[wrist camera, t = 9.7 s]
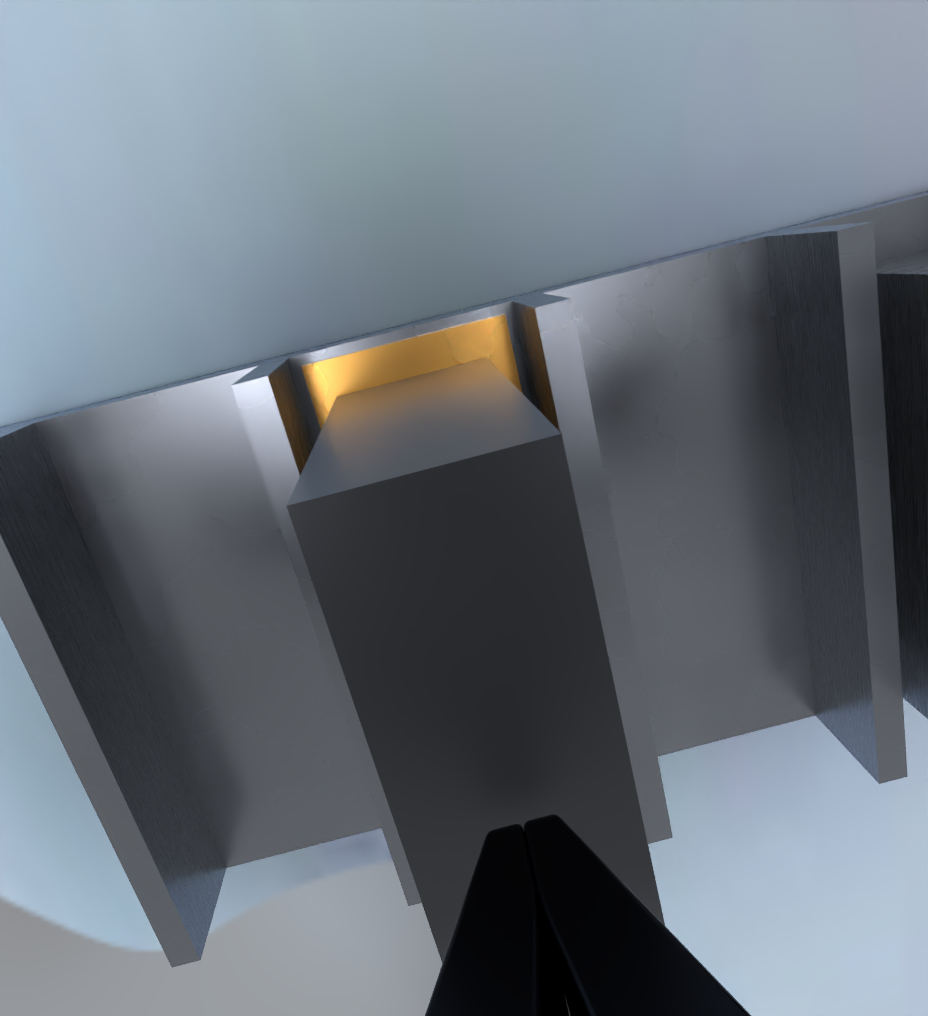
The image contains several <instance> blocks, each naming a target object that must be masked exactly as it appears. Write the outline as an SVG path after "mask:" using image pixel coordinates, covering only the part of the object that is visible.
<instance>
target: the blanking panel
mask: <svg viewBox="0 0 928 1016" xmlns="http://www.w3.org/2000/svg"><path fill="white" fill-rule="evenodd" d="M287 509H288V512H289V515H290V518H291V521H292V524H293V527H294V530H295V533H296V536H297V539H298V542H299V544H300V547H301V550H302V553H303V556H304V559H305V562H306V565H307V568H308V571H309V574H310V577H311V580H312V582H313V585H314V588H315V591H316V594H317V597H318V600H319V603H320V606H321V609H322V612H323V615H324V618H325V621H326V623H327V626H328V629H329V632H330V635H331V638H332V641H333V644H334V647H335V650H336V653H337V656H338V659H339V662H340V664H341V667H342V670H343V673H344V676H345V679H346V682H347V685H348V688H349V691H350V694H351V697H352V700H353V703H354V705H355V708H356V711H357V714H358V717H359V720H360V723H361V726H362V729H363V732H364V735H365V738H366V741H367V743H368V746H369V749H370V752H371V755H372V758H373V761H374V764H375V767H376V770H377V773H378V776H379V779H380V782H381V784H382V787H383V790H384V793H385V796H386V799H387V802H388V805H389V808H390V811H391V814H392V817H393V820H394V823H395V825H396V828H397V831H398V834H399V837H400V840H401V843H402V846H403V849H404V852H405V855H406V858H407V861H408V864H409V866H410V869H411V872H412V875H413V878H414V881H415V884H416V887H417V890H418V893H419V896H420V899H421V902H422V904H423V907H424V910H425V913H426V916H427V919H428V922H429V925H430V928H431V931H432V934H433V937H434V939H435V942H436V945H437V948H438V951H439V954H440V957H441V960H442V963H443V961H444V958H445V955H446V952H447V949H448V946H449V944H450V941H451V938H452V935H453V932H454V929H455V926H456V923H457V920H458V917H459V914H460V911H461V908H462V905H463V902H464V899H465V896H466V893H467V890H468V887H469V884H470V881H471V879H472V876H473V873H474V870H475V867H476V864H477V861H478V858H479V855H480V852H481V849H482V846H483V843H484V840H485V838H486V835H487V833H488V832H489V831H491V830H494V829H498V828H501V827H505V826H509V825H513V824H520V825H521V826H522V827H523V829H524V824H525V823H526V822H527V821H529V820H532V819H536V818H540V817H544V816H548V815H552V814H555V815H558V816H559V817H560V818H562V819H563V820H564V821H565V823H566V824H567V825H568V826H569V827H570V828H571V829H572V830H573V831H574V832H575V833H576V834H577V835H578V836H579V837H580V838H581V839H582V840H583V841H584V842H585V843H586V844H587V845H588V846H589V847H590V849H591V850H592V851H593V852H594V853H595V854H596V855H597V856H598V857H599V858H600V859H601V860H602V861H603V862H604V863H605V864H606V865H607V866H608V867H609V868H610V869H611V870H612V871H613V872H614V873H615V875H616V876H617V877H618V878H619V879H620V880H621V881H622V882H623V883H624V884H625V885H626V886H627V887H628V888H629V889H630V890H631V891H632V892H633V893H634V894H635V895H636V896H637V897H638V898H639V899H640V901H641V902H642V903H643V904H644V905H645V906H646V907H647V908H648V909H649V910H650V911H651V912H652V913H653V914H654V915H655V916H656V917H657V918H658V919H659V920H660V921H661V922H662V923H663V924H664V919H663V914H662V909H661V905H660V900H659V895H658V890H657V885H656V881H655V876H654V871H653V866H652V862H651V857H650V852H649V847H648V843H647V838H646V833H645V828H644V824H643V819H642V814H641V809H640V805H639V800H638V795H637V790H636V785H635V781H634V776H633V771H632V766H631V762H630V757H629V752H628V747H627V743H626V738H625V733H624V728H623V724H622V719H621V714H620V709H619V704H618V700H617V695H616V690H615V685H614V681H613V676H612V671H611V666H610V662H609V657H608V652H607V647H606V643H605V638H604V633H603V628H602V623H601V619H600V614H599V609H598V604H597V600H596V595H595V590H594V585H593V581H592V576H591V571H590V566H589V562H588V557H587V552H586V547H585V543H584V538H583V533H582V528H581V523H580V519H579V514H578V509H577V504H576V500H575V495H574V490H573V485H572V481H571V476H570V471H569V466H568V462H567V457H566V452H565V447H564V442H563V438H562V434H561V433H560V431H559V430H558V429H557V428H556V427H555V426H554V425H553V424H552V423H551V422H550V421H549V420H548V419H547V418H546V417H545V416H544V415H543V414H542V413H541V412H540V411H539V410H538V409H537V408H536V407H535V406H534V405H533V404H532V403H531V402H530V401H529V400H528V399H527V398H526V397H525V396H524V395H523V394H522V393H521V392H520V391H519V389H518V388H517V387H516V386H515V385H514V384H513V383H512V382H511V381H510V380H509V379H508V378H507V377H506V376H505V375H504V374H503V373H502V372H501V371H500V370H499V369H498V368H497V367H496V366H495V365H494V364H493V363H492V362H491V361H490V360H489V359H488V358H487V357H486V358H482V359H478V360H474V361H471V362H467V363H463V364H459V365H455V366H451V367H448V368H444V369H440V370H436V371H432V372H429V373H425V374H421V375H417V376H413V377H410V378H406V379H402V380H398V381H394V382H390V383H387V384H383V385H379V386H375V387H371V388H368V389H364V390H360V391H356V392H352V393H348V394H345V395H341V396H337V397H336V399H335V401H334V404H333V406H332V408H331V410H330V412H329V414H328V417H327V419H326V421H325V423H324V425H323V427H322V430H321V432H320V434H319V436H318V438H317V440H316V443H315V445H314V447H313V449H312V451H311V453H310V456H309V458H308V460H307V462H306V464H305V467H304V469H303V471H302V473H301V475H300V477H299V480H298V482H297V484H296V486H295V488H294V490H293V493H292V495H291V497H290V499H289V501H288V503H287ZM664 925H665V924H664ZM566 1002H567V1001H566ZM567 1006H568V1005H567ZM568 1011H569V1009H568ZM569 1015H570V1013H569Z"/></svg>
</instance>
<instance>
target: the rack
mask: <svg viewBox="0 0 928 1016" xmlns="http://www.w3.org/2000/svg"><path fill="white" fill-rule="evenodd" d="M486 357H487V358H488V359H489V360H490V361H491V362H492V363H493V364H494V365H495V366H496V367H497V368H498V369H499V370H500V371H501V372H502V373H503V374H504V375H505V376H506V377H507V378H508V379H509V380H510V381H511V382H512V383H513V384H514V385H515V386H516V387H517V388H518V389H519V391H520V392H521V393H522V394H523V395H524V396H525V397H526V398H527V399H528V400H529V401H530V402H531V403H532V404H533V405H534V406H535V407H536V408H537V409H538V410H539V411H540V412H541V413H542V414H543V415H544V416H545V417H546V418H547V419H548V420H549V421H550V422H551V423H552V424H553V425H554V426H555V427H556V428H557V429H558V430H559V431H560V433H561V434H562V438H563V442H564V447H565V452H566V457H567V462H568V466H569V471H570V476H571V481H572V485H573V490H574V495H575V500H576V504H577V509H578V514H579V519H580V523H581V528H582V533H583V538H584V543H585V547H586V552H587V557H588V562H589V566H590V571H591V576H592V581H593V585H594V590H595V595H596V600H597V604H598V609H599V614H600V619H601V623H602V628H603V633H604V638H605V643H606V647H607V652H608V657H609V662H610V666H611V671H612V676H613V681H614V685H615V690H616V695H617V700H618V704H619V709H620V714H621V719H622V724H623V728H624V733H625V738H626V743H627V747H628V752H629V757H630V762H631V766H632V771H633V776H634V781H635V785H636V790H637V795H638V800H639V805H640V809H641V814H642V819H643V824H644V828H645V833H646V838H647V843H648V844H649V843H653V842H657V841H661V840H665V839H669V838H672V832H671V827H670V821H669V816H668V811H667V805H666V800H665V795H664V789H663V784H662V779H661V773H660V768H659V763H658V757H657V756H660V755H664V754H668V753H672V752H676V751H680V750H684V749H687V748H691V747H695V746H699V745H703V744H707V743H711V742H714V741H718V740H722V739H726V738H730V737H734V736H738V735H741V734H745V733H749V732H753V731H757V730H761V729H765V728H769V727H772V726H776V725H780V724H784V723H788V722H792V721H796V720H799V719H803V718H807V717H811V716H815V715H816V716H817V717H818V719H819V720H820V721H821V722H822V723H823V724H824V725H825V726H826V727H827V728H828V729H829V730H830V731H831V732H832V734H833V735H834V736H835V737H836V738H837V739H838V740H839V741H840V742H841V743H842V744H843V745H844V746H845V748H846V749H847V750H848V751H849V752H850V753H851V754H852V755H853V756H854V757H855V758H856V759H857V760H858V762H859V763H860V764H861V765H862V766H863V767H864V768H865V769H866V770H867V771H868V772H869V773H870V774H871V776H872V777H873V778H874V779H875V780H876V781H877V782H878V783H879V784H880V783H884V782H888V781H892V780H896V779H900V778H903V777H907V763H906V747H905V730H904V714H903V698H904V699H905V700H906V701H908V702H909V703H910V704H911V705H912V706H913V707H915V708H916V709H917V710H918V711H919V712H920V713H922V714H923V715H924V716H925V717H926V718H927V719H928V191H926V192H922V193H918V194H914V195H910V196H906V197H902V198H898V199H894V200H891V201H887V202H883V203H879V204H875V205H871V206H867V207H863V208H859V209H855V210H851V211H847V212H843V213H840V214H836V215H832V216H828V217H824V218H820V219H816V220H812V221H808V222H804V223H800V224H796V225H792V226H789V227H785V228H781V229H777V230H773V231H769V232H765V233H761V234H757V235H753V236H749V237H745V238H741V239H738V240H734V241H730V242H726V243H722V244H718V245H714V246H710V247H706V248H702V249H698V250H694V251H690V252H687V253H683V254H679V255H675V256H671V257H667V258H663V259H659V260H655V261H651V262H647V263H643V264H639V265H636V266H632V267H628V268H624V269H620V270H616V271H612V272H608V273H604V274H600V275H596V276H592V277H589V278H585V279H581V280H577V281H573V282H569V283H565V284H561V285H557V286H553V287H549V288H545V289H541V290H538V291H534V292H530V293H526V294H522V295H518V296H514V297H510V298H506V299H502V300H498V301H494V302H490V303H487V304H483V305H479V306H475V307H471V308H467V309H463V310H459V311H455V312H451V313H447V314H443V315H439V316H436V317H432V318H428V319H424V320H420V321H416V322H412V323H408V324H404V325H400V326H396V327H392V328H388V329H385V330H381V331H377V332H373V333H369V334H365V335H361V336H357V337H353V338H349V339H345V340H341V341H337V342H334V343H330V344H326V345H322V346H318V347H314V348H310V349H306V350H302V351H298V352H294V353H290V354H287V355H283V356H279V357H275V358H271V359H267V360H263V361H259V362H255V363H251V364H247V365H243V366H239V367H236V368H232V369H228V370H224V371H220V372H216V373H212V374H208V375H204V376H200V377H196V378H192V379H188V380H185V381H181V382H177V383H173V384H169V385H165V386H161V387H157V388H153V389H149V390H145V391H141V392H137V393H134V394H130V395H126V396H122V397H118V398H114V399H110V400H106V401H102V402H98V403H94V404H90V405H86V406H83V407H79V408H75V409H71V410H67V411H63V412H59V413H55V414H51V415H47V416H43V417H39V418H35V419H32V420H28V421H24V422H20V423H16V424H12V425H8V426H4V427H0V616H1V619H2V621H3V623H4V625H5V627H6V629H7V631H8V633H9V635H10V637H11V639H12V641H13V643H14V645H15V647H16V649H17V651H18V653H19V655H20V657H21V659H22V662H23V664H24V666H25V668H26V670H27V672H28V674H29V676H30V678H31V680H32V682H33V684H34V686H35V688H36V690H37V692H38V694H39V696H40V698H41V700H42V702H43V705H44V707H45V709H46V711H47V713H48V715H49V717H50V719H51V721H52V723H53V725H54V727H55V729H56V731H57V733H58V735H59V737H60V739H61V741H62V743H63V745H64V748H65V750H66V752H67V754H68V756H69V758H70V760H71V762H72V764H73V766H74V768H75V770H76V772H77V774H78V776H79V778H80V780H81V782H82V784H83V786H84V788H85V790H86V793H87V795H88V797H89V799H90V801H91V803H92V805H93V807H94V809H95V811H96V813H97V815H98V817H99V819H100V821H101V823H102V825H103V827H104V829H105V831H106V833H107V836H108V838H109V840H110V842H111V844H112V846H113V848H114V850H115V852H116V854H117V856H118V858H119V860H120V862H121V864H122V866H123V868H124V870H125V872H126V874H127V876H128V879H129V881H130V883H131V885H132V887H133V889H134V891H135V893H136V895H137V897H138V899H139V901H140V903H141V905H142V907H143V909H144V911H145V913H146V915H147V917H148V919H149V922H150V924H151V926H152V928H153V930H154V932H155V934H156V936H157V938H158V940H159V942H160V944H161V946H162V948H163V950H164V952H165V954H166V956H167V958H168V960H169V962H170V965H171V967H175V966H179V965H183V964H187V963H190V962H195V961H198V960H201V956H202V952H203V949H204V945H205V942H206V938H207V935H208V931H209V928H210V924H211V921H212V917H213V914H214V910H215V907H216V903H217V899H218V896H219V892H220V889H221V885H222V882H223V878H224V875H225V871H226V868H228V867H232V866H236V865H239V864H243V863H247V862H251V861H255V860H259V859H263V858H266V857H270V856H274V855H278V854H282V853H286V852H290V851H293V850H297V849H301V848H305V847H309V846H313V845H317V844H320V843H324V842H328V841H332V840H336V839H340V838H344V837H348V836H351V835H355V834H359V833H363V832H367V831H371V830H375V829H378V828H382V830H383V833H384V835H385V838H386V841H387V844H388V847H389V850H390V853H391V856H392V859H393V862H394V865H395V868H396V871H397V874H398V876H399V879H400V882H401V885H402V888H403V891H404V894H405V897H406V900H407V903H408V905H409V906H410V905H414V904H418V903H422V902H421V899H420V896H419V893H418V890H417V887H416V884H415V881H414V878H413V875H412V872H411V869H410V866H409V864H408V861H407V858H406V855H405V852H404V849H403V846H402V843H401V840H400V837H399V834H398V831H397V828H396V825H395V823H394V820H393V817H392V814H391V811H390V808H389V805H388V802H387V799H386V796H385V793H384V790H383V787H382V784H381V782H380V779H379V776H378V773H377V770H376V767H375V764H374V761H373V758H372V755H371V752H370V749H369V746H368V743H367V741H366V738H365V735H364V732H363V729H362V726H361V723H360V720H359V717H358V714H357V711H356V708H355V705H354V703H353V700H352V697H351V694H350V691H349V688H348V685H347V682H346V679H345V676H344V673H343V670H342V667H341V664H340V662H339V659H338V656H337V653H336V650H335V647H334V644H333V641H332V638H331V635H330V632H329V629H328V626H327V623H326V621H325V618H324V615H323V612H322V609H321V606H320V603H319V600H318V597H317V594H316V591H315V588H314V585H313V582H312V580H311V577H310V574H309V571H308V568H307V565H306V562H305V559H304V556H303V553H302V550H301V547H300V544H299V542H298V539H297V536H296V533H295V530H294V527H293V524H292V521H291V518H290V515H289V512H288V509H287V503H288V501H289V499H290V497H291V495H292V493H293V490H294V488H295V486H296V484H297V482H298V480H299V477H300V475H301V473H302V471H303V469H304V467H305V464H306V462H307V460H308V458H309V456H310V453H311V451H312V449H313V447H314V445H315V443H316V440H317V438H318V436H319V434H320V432H321V430H322V427H323V425H324V423H325V421H326V419H327V417H328V414H329V412H330V410H331V408H332V406H333V404H334V401H335V399H336V397H337V396H341V395H345V394H348V393H352V392H356V391H360V390H364V389H368V388H371V387H375V386H379V385H383V384H387V383H390V382H394V381H398V380H402V379H406V378H410V377H413V376H417V375H421V374H425V373H429V372H432V371H436V370H440V369H444V368H448V367H451V366H455V365H459V364H463V363H467V362H471V361H474V360H478V359H482V358H486ZM902 697H903V698H902Z"/></svg>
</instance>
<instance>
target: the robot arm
mask: <svg viewBox="0 0 928 1016" xmlns="http://www.w3.org/2000/svg"><path fill="white" fill-rule="evenodd" d="M566 1001H567V1002H566ZM567 1005H568V1006H567ZM568 1009H569V1011H568ZM569 1013H570V1015H569ZM425 1016H751V1015H750V1014H749V1013H748V1012H747V1011H746V1010H745V1009H744V1008H743V1007H742V1006H741V1005H740V1003H739V1002H738V1001H737V1000H736V999H735V998H734V997H733V996H732V995H731V994H730V993H729V992H728V991H727V990H726V989H725V988H724V987H723V986H722V985H721V984H720V983H719V982H718V981H717V980H716V979H715V977H714V976H713V975H712V974H711V973H710V972H709V971H708V970H707V969H706V968H705V967H704V966H703V965H702V964H701V963H700V962H699V961H698V960H697V959H696V958H695V957H694V956H693V955H692V954H691V953H690V951H689V950H688V949H687V948H686V947H685V946H684V945H683V944H682V943H681V942H680V941H679V940H678V939H677V938H676V937H675V936H674V935H673V934H672V933H671V932H670V931H669V930H668V929H667V928H666V927H665V925H664V924H663V923H662V922H661V921H660V920H659V919H658V918H657V917H656V916H655V915H654V914H653V913H652V912H651V911H650V910H649V909H648V908H647V907H646V906H645V905H644V904H643V903H642V902H641V901H640V899H639V898H638V897H637V896H636V895H635V894H634V893H633V892H632V891H631V890H630V889H629V888H628V887H627V886H626V885H625V884H624V883H623V882H622V881H621V880H620V879H619V878H618V877H617V876H616V875H615V873H614V872H613V871H612V870H611V869H610V868H609V867H608V866H607V865H606V864H605V863H604V862H603V861H602V860H601V859H600V858H599V857H598V856H597V855H596V854H595V853H594V852H593V851H592V850H591V849H590V847H589V846H588V845H587V844H586V843H585V842H584V841H583V840H582V839H581V838H580V837H579V836H578V835H577V834H576V833H575V832H574V831H573V830H572V829H571V828H570V827H569V826H568V825H567V824H566V823H565V821H564V820H563V819H562V818H560V817H559V816H558V815H555V814H552V815H548V816H544V817H540V818H536V819H532V820H529V821H527V822H526V823H525V824H524V829H523V827H522V826H521V825H520V824H513V825H509V826H505V827H501V828H498V829H494V830H491V831H489V832H488V833H487V835H486V838H485V840H484V843H483V846H482V849H481V852H480V855H479V858H478V861H477V864H476V867H475V870H474V873H473V876H472V879H471V881H470V884H469V887H468V890H467V893H466V896H465V899H464V902H463V905H462V908H461V911H460V914H459V917H458V920H457V923H456V926H455V929H454V932H453V935H452V938H451V941H450V944H449V946H448V949H447V952H446V955H445V958H444V961H443V964H442V967H441V970H440V973H439V976H438V979H437V982H436V985H435V988H434V991H433V994H432V997H431V1000H430V1003H429V1006H428V1009H427V1012H426V1014H425Z"/></svg>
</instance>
